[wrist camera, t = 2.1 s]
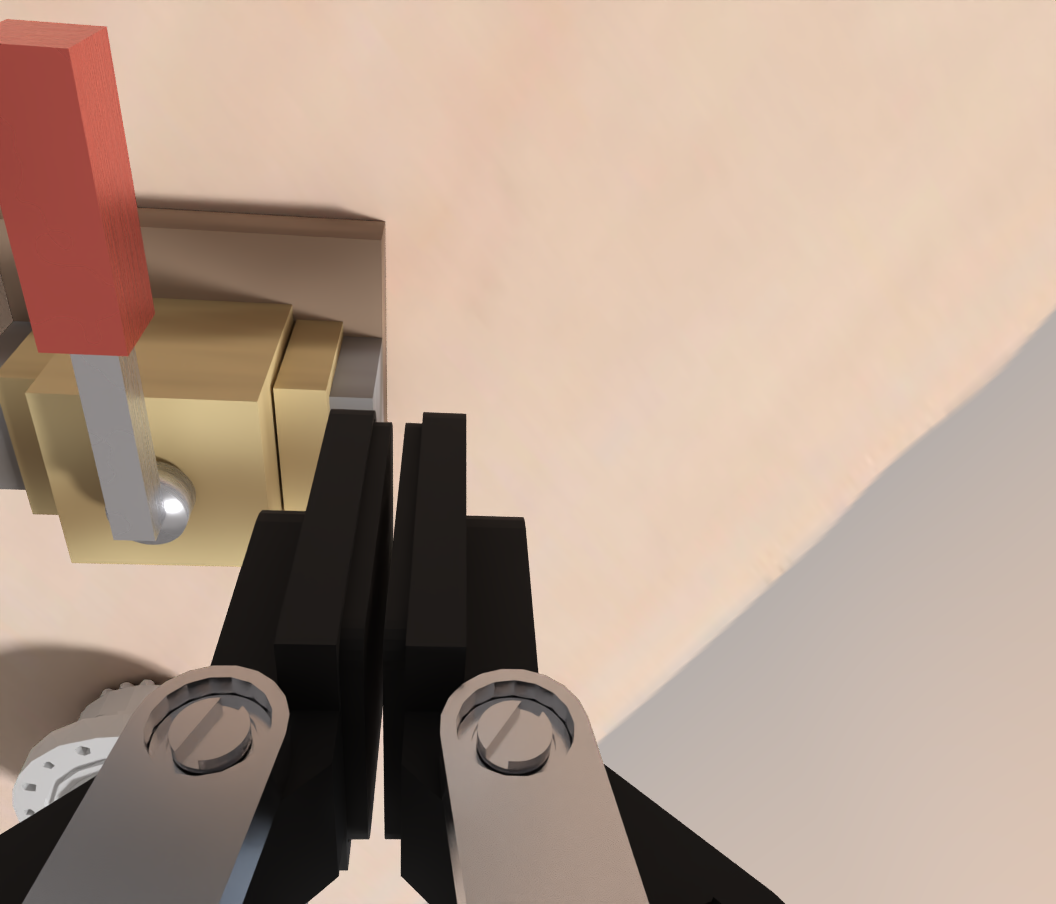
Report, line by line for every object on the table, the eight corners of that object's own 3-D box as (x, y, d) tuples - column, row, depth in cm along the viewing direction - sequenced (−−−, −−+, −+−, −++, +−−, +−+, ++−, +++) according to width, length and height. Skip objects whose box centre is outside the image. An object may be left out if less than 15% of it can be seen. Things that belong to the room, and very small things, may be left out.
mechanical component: (-46, 776, 35) (192, 719, 34) (2, 686, 38) (219, 632, 37) (94, 905, 40) (303, 860, 39) (125, 816, 44) (317, 772, 43)
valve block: (7, 199, 27) (-121, 306, 21) (385, 221, 28) (363, 328, 22) (76, 473, 32) (-9, 617, 26) (387, 483, 33) (370, 623, 27)
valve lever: (200, 521, 25) (176, 585, 23) (124, 519, 24) (93, 583, 22) (120, 22, 18) (74, 48, 15) (12, 14, 17) (-49, 40, 15)
